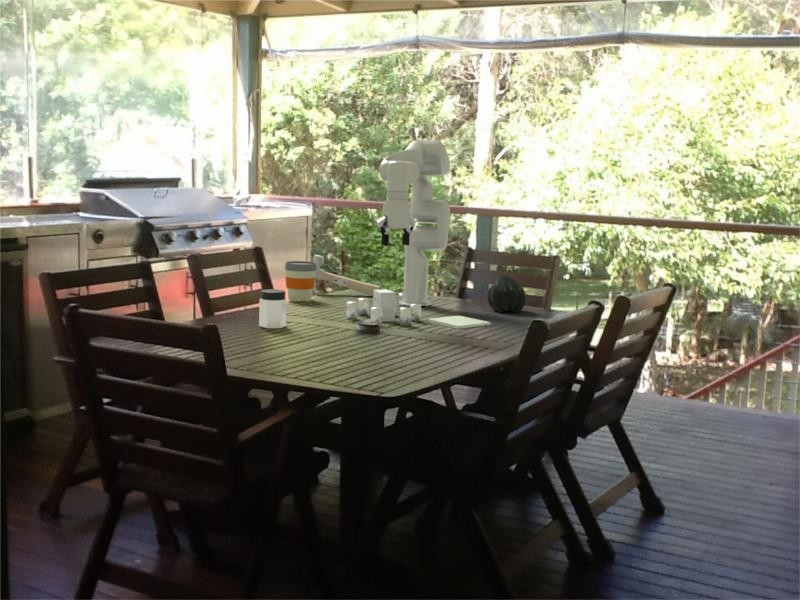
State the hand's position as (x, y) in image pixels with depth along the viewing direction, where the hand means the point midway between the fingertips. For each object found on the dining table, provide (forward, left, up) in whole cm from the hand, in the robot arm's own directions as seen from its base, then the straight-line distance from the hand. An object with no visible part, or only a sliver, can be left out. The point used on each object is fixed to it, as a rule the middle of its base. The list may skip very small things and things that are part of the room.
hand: (395, 245), depth 320 cm
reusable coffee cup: (-54, -4, -27) cm, 60 cm away
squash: (+4, +54, -27) cm, 61 cm away
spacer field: (-2, -3, -27) cm, 27 cm away
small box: (-2, -2, -27) cm, 27 cm away
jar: (-9, -45, -27) cm, 53 cm away
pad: (+16, +17, -27) cm, 36 cm away
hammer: (-59, +22, -27) cm, 68 cm away
